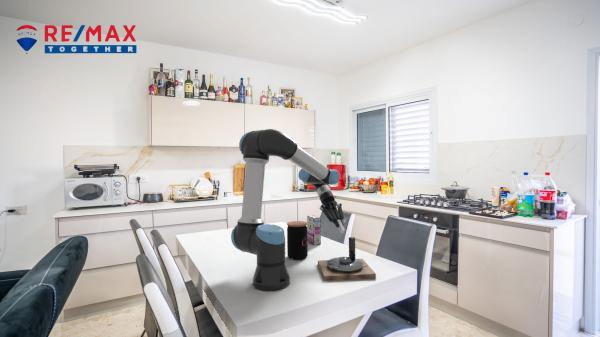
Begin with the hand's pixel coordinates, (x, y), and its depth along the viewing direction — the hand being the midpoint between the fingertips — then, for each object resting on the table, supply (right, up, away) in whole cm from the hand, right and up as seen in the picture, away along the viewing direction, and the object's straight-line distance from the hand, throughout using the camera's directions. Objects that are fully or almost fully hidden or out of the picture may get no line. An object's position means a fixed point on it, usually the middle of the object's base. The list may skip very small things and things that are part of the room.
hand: (342, 232), depth 147 cm
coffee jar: (-23, -15, +9) cm, 29 cm away
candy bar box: (-13, -15, +37) cm, 41 cm away
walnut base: (-1, -15, -13) cm, 20 cm away
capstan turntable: (-1, -13, -13) cm, 18 cm away
